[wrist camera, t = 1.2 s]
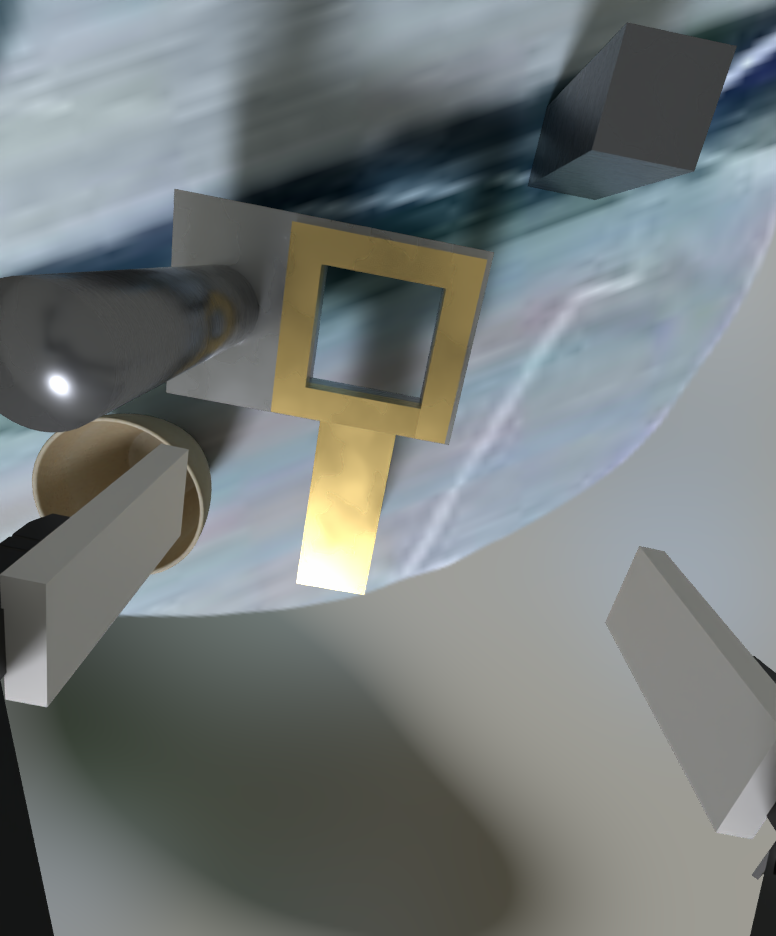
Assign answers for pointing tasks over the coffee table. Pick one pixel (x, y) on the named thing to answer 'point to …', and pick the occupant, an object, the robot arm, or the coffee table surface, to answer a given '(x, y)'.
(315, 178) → the coffee table surface
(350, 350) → the coffee table surface
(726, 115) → the coffee table surface
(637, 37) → the dark grey block
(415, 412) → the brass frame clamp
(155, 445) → the flower pot
